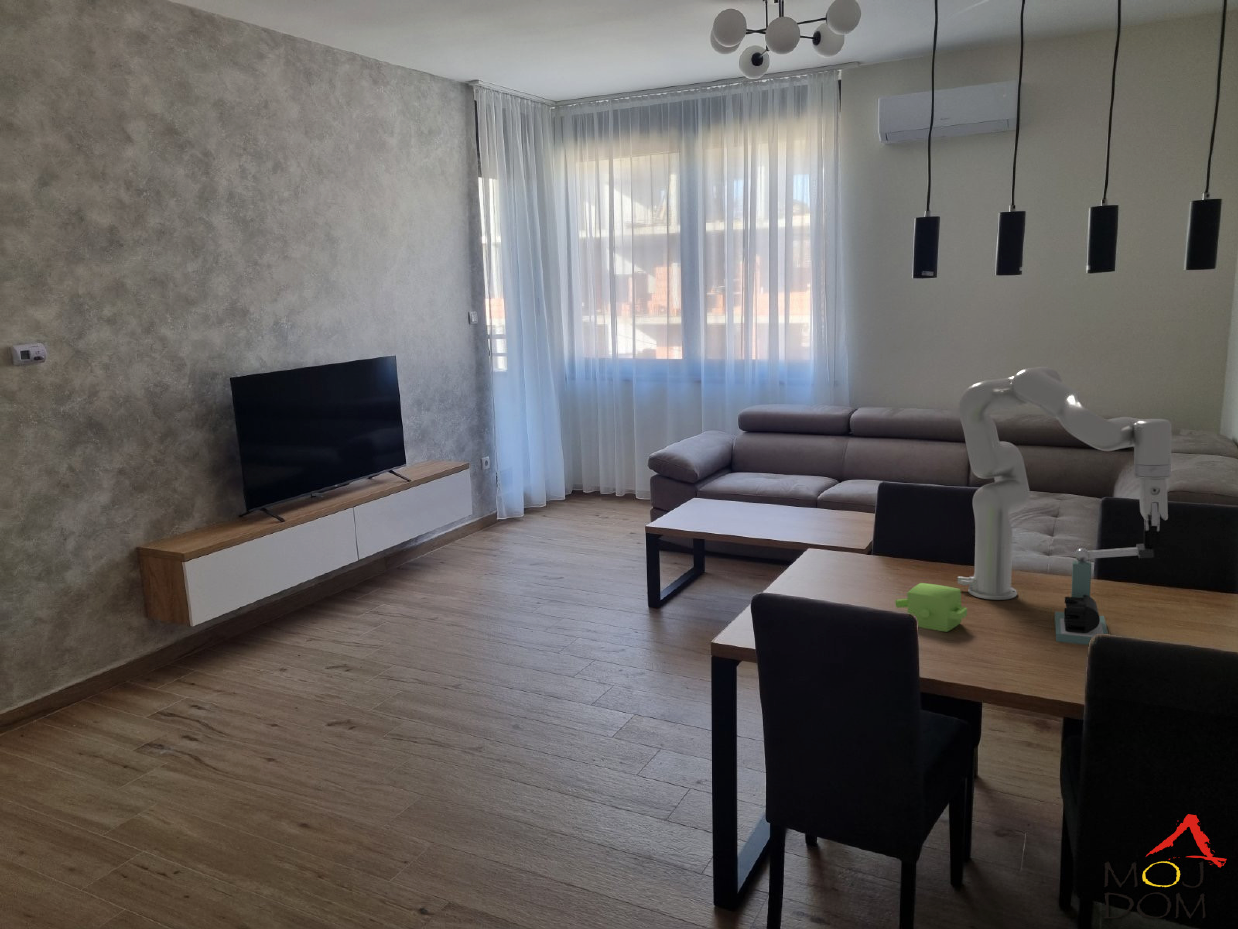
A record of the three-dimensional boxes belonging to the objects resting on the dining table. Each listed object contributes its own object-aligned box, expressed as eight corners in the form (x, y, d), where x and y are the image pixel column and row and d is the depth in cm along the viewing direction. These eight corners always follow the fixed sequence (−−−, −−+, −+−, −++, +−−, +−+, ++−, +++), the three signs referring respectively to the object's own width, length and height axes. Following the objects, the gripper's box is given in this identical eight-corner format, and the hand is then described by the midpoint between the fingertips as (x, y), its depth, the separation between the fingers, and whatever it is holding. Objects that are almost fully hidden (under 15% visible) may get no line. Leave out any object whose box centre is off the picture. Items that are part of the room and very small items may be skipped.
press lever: (1076, 564, 216) (1075, 552, 216) (1075, 558, 222) (1074, 546, 222) (1154, 559, 209) (1152, 547, 209) (1151, 553, 214) (1149, 541, 214)
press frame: (1056, 641, 211) (1058, 577, 208) (1054, 619, 226) (1057, 558, 223) (1108, 646, 206) (1111, 581, 203) (1103, 623, 221) (1106, 561, 219)
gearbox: (888, 624, 228) (886, 589, 227) (905, 613, 235) (904, 579, 234) (956, 638, 216) (956, 601, 214) (972, 625, 223) (972, 589, 221)
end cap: (1099, 635, 207) (1100, 608, 206) (1065, 632, 210) (1066, 605, 209) (1096, 622, 216) (1097, 595, 215) (1063, 619, 219) (1064, 592, 218)
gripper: (1175, 475, 201) (1174, 554, 203) (1166, 466, 214) (1165, 540, 217) (1137, 475, 204) (1137, 553, 206) (1130, 466, 217) (1130, 539, 220)
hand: (1151, 546), depth 211 cm, fingers closed
